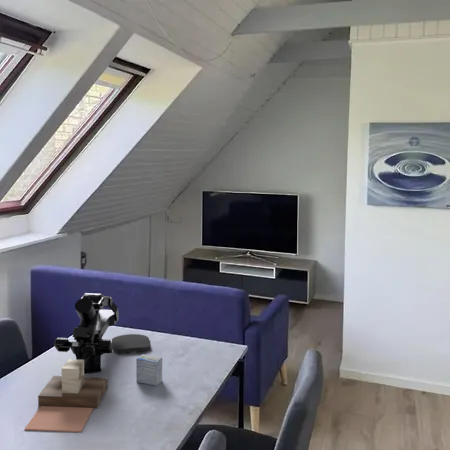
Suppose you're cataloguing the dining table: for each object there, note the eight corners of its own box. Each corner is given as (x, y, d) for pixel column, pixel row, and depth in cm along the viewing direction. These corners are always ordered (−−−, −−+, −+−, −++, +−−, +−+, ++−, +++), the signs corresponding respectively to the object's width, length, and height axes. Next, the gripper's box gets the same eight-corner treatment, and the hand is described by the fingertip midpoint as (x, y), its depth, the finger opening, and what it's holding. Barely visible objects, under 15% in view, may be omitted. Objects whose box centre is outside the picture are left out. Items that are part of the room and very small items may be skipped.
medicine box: (162, 381, 181) (162, 357, 180) (156, 386, 177) (157, 362, 175) (142, 377, 183) (142, 353, 182) (135, 382, 179) (136, 358, 178)
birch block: (68, 382, 170) (68, 359, 169) (84, 383, 170) (84, 359, 169) (61, 392, 163) (61, 368, 162) (77, 393, 163) (77, 368, 162)
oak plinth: (53, 385, 175) (53, 375, 174) (107, 387, 175) (107, 377, 174) (38, 406, 161) (38, 395, 160) (96, 408, 161) (96, 397, 160)
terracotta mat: (41, 407, 161) (41, 406, 161) (93, 409, 160) (93, 408, 160) (24, 430, 148) (24, 428, 148) (81, 432, 148) (81, 430, 148)
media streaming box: (110, 342, 215) (110, 335, 215) (146, 339, 220) (146, 332, 219) (114, 355, 201) (114, 348, 201) (152, 352, 206) (152, 345, 205)
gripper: (55, 314, 175) (44, 359, 166) (111, 316, 175) (103, 361, 165) (63, 329, 184) (53, 372, 175) (116, 331, 184) (108, 374, 174)
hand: (79, 370), depth 172 cm, fingers closed
